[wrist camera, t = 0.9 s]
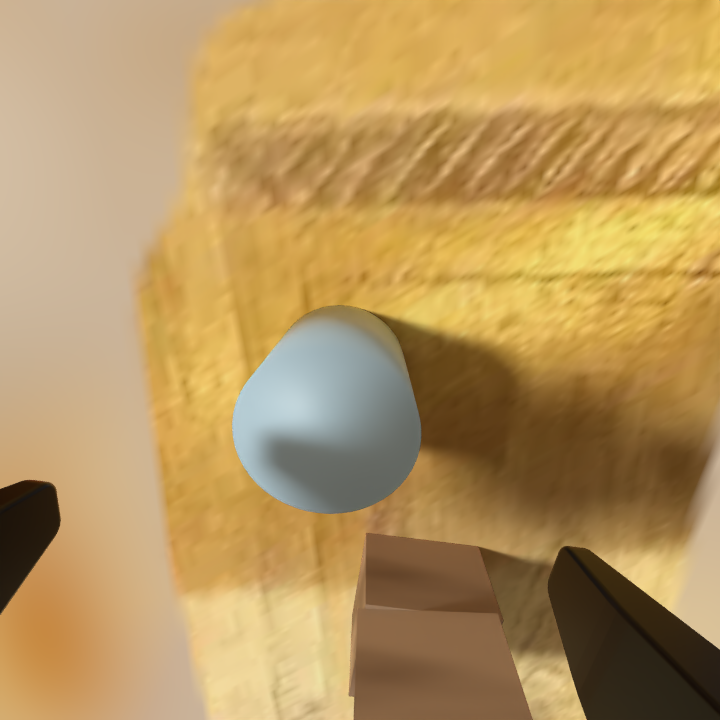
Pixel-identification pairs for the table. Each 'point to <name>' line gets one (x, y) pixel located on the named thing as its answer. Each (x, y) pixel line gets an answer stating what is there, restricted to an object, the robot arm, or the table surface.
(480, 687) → the upper block
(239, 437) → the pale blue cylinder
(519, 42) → the table surface
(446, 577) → the lower block
